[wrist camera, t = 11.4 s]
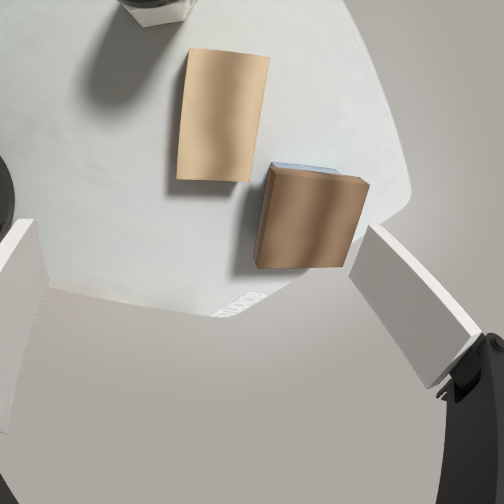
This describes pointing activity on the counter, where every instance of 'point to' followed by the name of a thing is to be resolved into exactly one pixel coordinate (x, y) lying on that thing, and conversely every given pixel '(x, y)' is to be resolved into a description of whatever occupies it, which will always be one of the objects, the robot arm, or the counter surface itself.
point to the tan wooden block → (220, 115)
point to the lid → (308, 218)
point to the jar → (158, 10)
